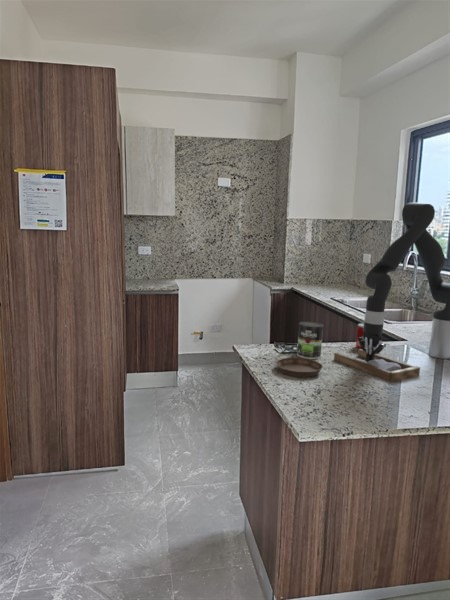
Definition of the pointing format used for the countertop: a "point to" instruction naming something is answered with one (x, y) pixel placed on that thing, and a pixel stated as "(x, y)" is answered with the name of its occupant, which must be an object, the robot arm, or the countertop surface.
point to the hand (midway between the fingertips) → (369, 362)
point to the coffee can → (310, 340)
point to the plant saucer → (299, 367)
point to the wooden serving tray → (392, 376)
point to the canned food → (359, 334)
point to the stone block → (385, 365)
